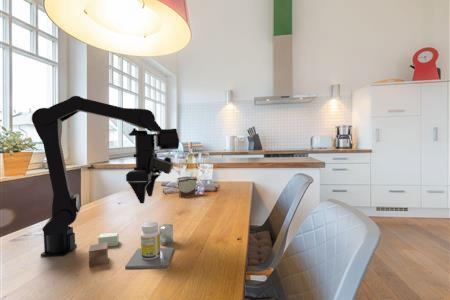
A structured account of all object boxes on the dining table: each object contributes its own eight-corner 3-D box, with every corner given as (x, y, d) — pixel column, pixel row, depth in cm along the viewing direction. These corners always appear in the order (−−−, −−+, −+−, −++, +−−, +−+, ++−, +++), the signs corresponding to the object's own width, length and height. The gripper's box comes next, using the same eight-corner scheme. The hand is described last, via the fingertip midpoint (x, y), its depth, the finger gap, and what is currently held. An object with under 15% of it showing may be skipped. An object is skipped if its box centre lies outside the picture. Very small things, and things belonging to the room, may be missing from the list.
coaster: (125, 268, 62) (125, 266, 61) (137, 250, 71) (137, 248, 71) (167, 267, 62) (167, 265, 62) (173, 249, 72) (173, 247, 72)
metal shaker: (158, 245, 75) (157, 228, 74) (161, 240, 79) (160, 224, 78) (172, 245, 75) (171, 228, 75) (174, 240, 79) (173, 224, 79)
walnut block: (89, 267, 63) (88, 251, 62) (90, 260, 66) (90, 245, 66) (107, 264, 64) (106, 248, 64) (107, 257, 68) (107, 242, 68)
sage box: (98, 247, 74) (98, 237, 74) (100, 243, 77) (100, 234, 77) (117, 245, 75) (116, 235, 75) (118, 241, 78) (118, 232, 78)
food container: (191, 193, 147) (191, 175, 146) (197, 194, 142) (197, 176, 142) (172, 196, 139) (171, 178, 139) (177, 198, 134) (177, 179, 134)
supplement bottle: (153, 250, 70) (152, 220, 70) (164, 255, 67) (163, 223, 67) (137, 256, 66) (136, 224, 66) (148, 262, 63) (147, 228, 63)
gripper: (165, 151, 71) (166, 206, 72) (175, 148, 90) (176, 192, 91) (124, 152, 71) (126, 207, 71) (143, 149, 89) (144, 193, 90)
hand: (146, 199), depth 81 cm, fingers open, 9 cm apart
